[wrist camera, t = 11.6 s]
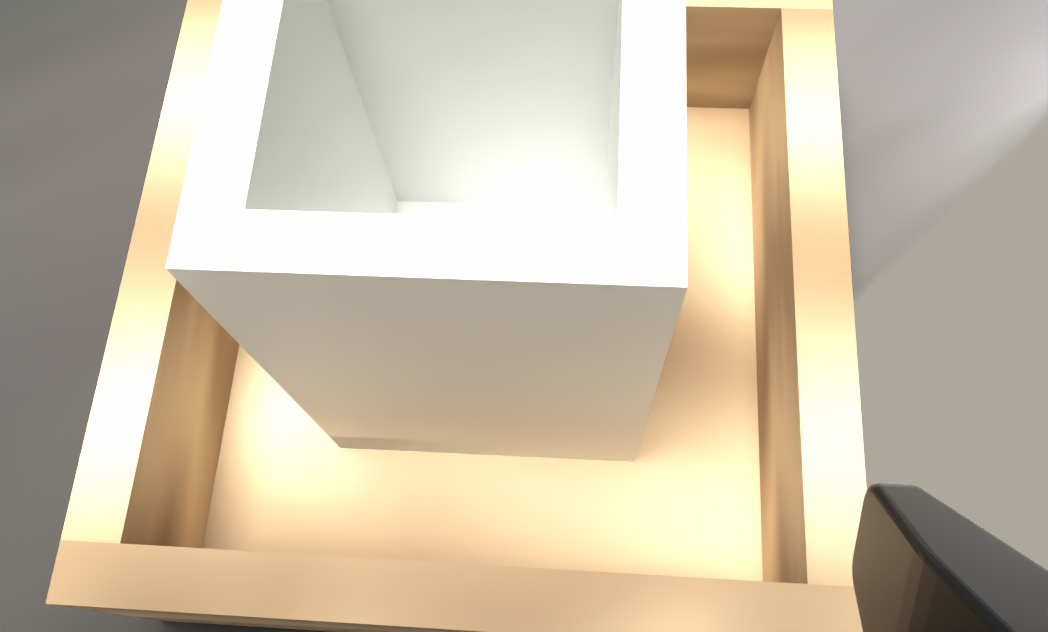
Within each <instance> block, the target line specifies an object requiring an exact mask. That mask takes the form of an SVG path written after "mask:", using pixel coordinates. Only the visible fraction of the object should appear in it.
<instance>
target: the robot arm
mask: <svg viewBox="0 0 1048 632" xmlns="http://www.w3.org/2000/svg"><path fill="white" fill-rule="evenodd" d="M852 578H853V585H854V590H855V595H856V600H857V605H858V610H859V615H860V620H861V625H862V629H863V632H1048V570H1046V569H1045V568H1043V567H1042V566H1040V565H1038V564H1037V563H1035V562H1034V561H1032V560H1030V559H1029V558H1028V557H1026V556H1024V555H1023V554H1021V553H1020V552H1018V551H1017V550H1015V549H1014V548H1012V547H1011V546H1009V545H1007V544H1006V543H1004V542H1003V541H1001V540H1000V539H998V538H997V537H995V536H994V535H992V534H990V533H989V532H987V531H986V530H984V529H983V528H981V527H980V526H978V525H976V524H975V523H973V522H972V521H970V520H969V519H967V518H965V517H964V516H963V515H961V514H959V513H958V512H956V511H955V510H953V509H952V508H950V507H948V506H947V505H946V504H944V503H942V502H941V501H939V500H938V499H936V498H935V497H933V496H932V495H930V494H929V493H927V492H925V491H924V490H922V489H921V488H919V487H917V486H913V485H900V484H880V483H879V484H873V485H871V486H870V487H869V488H868V490H867V491H866V494H865V496H864V500H863V505H862V511H861V516H860V521H859V526H858V532H857V537H856V542H855V548H854V553H853V559H852Z"/></svg>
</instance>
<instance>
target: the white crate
mask: <svg viewBox="0 0 1048 632" xmlns="http://www.w3.org/2000/svg"><path fill="white" fill-rule="evenodd" d="M165 269H166V270H167V271H168V272H169V273H170V274H171V275H172V276H173V277H174V278H175V279H176V280H177V281H178V282H179V283H180V284H181V285H182V286H183V287H184V288H185V289H186V290H187V291H188V292H189V293H190V294H191V295H192V296H193V297H194V298H195V299H196V300H197V301H198V302H199V303H200V304H201V305H202V306H203V308H204V309H205V310H206V311H207V312H208V313H209V314H210V315H211V316H212V317H213V318H214V319H215V320H216V321H217V322H218V323H219V324H220V325H221V326H222V327H223V328H224V329H225V330H226V331H227V332H228V333H229V334H230V335H231V336H232V337H233V338H234V339H235V340H236V341H237V342H238V343H239V344H240V345H241V347H242V348H243V349H244V350H245V351H246V352H247V353H248V354H249V355H250V356H251V357H252V358H253V359H254V360H255V361H256V362H257V363H258V364H259V365H260V366H261V367H262V368H263V369H264V370H265V371H266V372H267V373H268V374H269V375H270V376H271V377H272V378H273V379H274V380H275V381H276V382H277V383H278V385H279V386H280V387H281V388H282V389H283V390H284V391H285V392H286V393H287V394H288V395H289V396H290V397H291V398H292V399H293V400H294V401H295V402H296V403H297V404H298V405H299V406H300V407H301V408H302V409H303V410H304V411H305V412H306V413H307V414H308V415H309V416H310V417H311V418H312V419H313V420H314V421H315V422H316V424H317V425H318V426H319V427H320V428H321V429H322V430H323V431H324V432H325V433H326V434H327V435H328V436H329V437H330V438H331V439H332V440H333V441H334V442H335V443H336V444H337V445H338V446H339V447H340V448H353V449H374V450H395V451H416V452H437V453H458V454H479V455H500V456H521V457H542V458H563V459H584V460H605V461H626V462H634V459H635V456H636V452H637V449H638V446H639V443H640V439H641V436H642V433H643V430H644V426H645V423H646V420H647V417H648V413H649V410H650V407H651V404H652V400H653V397H654V394H655V391H656V387H657V384H658V381H659V378H660V375H661V371H662V368H663V365H664V362H665V358H666V355H667V352H668V349H669V345H670V342H671V339H672V336H673V332H674V329H675V326H676V323H677V319H678V316H679V313H680V310H681V306H682V303H683V300H684V297H685V293H686V290H687V134H686V0H223V2H222V7H221V11H220V16H219V21H218V25H217V30H216V35H215V39H214V44H213V49H212V53H211V58H210V63H209V67H208V72H207V77H206V81H205V86H204V91H203V95H202V100H201V105H200V109H199V114H198V119H197V123H196V128H195V133H194V137H193V142H192V147H191V151H190V156H189V161H188V165H187V170H186V175H185V179H184V184H183V189H182V193H181V198H180V203H179V207H178V212H177V217H176V221H175V226H174V231H173V235H172V240H171V245H170V249H169V254H168V259H167V263H166V268H165Z"/></svg>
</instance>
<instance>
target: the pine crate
mask: <svg viewBox="0 0 1048 632" xmlns="http://www.w3.org/2000/svg"><path fill="white" fill-rule="evenodd" d="M222 2H223V0H188V2H187V6H186V10H185V14H184V19H183V23H182V27H181V31H180V36H179V40H178V44H177V48H176V52H175V57H174V61H173V65H172V69H171V74H170V78H169V82H168V86H167V91H166V95H165V99H164V103H163V108H162V112H161V116H160V120H159V125H158V129H157V133H156V137H155V142H154V146H153V150H152V154H151V159H150V163H149V167H148V171H147V175H146V180H145V184H144V188H143V192H142V197H141V201H140V205H139V209H138V214H137V218H136V222H135V226H134V231H133V235H132V239H131V243H130V248H129V252H128V256H127V260H126V265H125V269H124V273H123V277H122V282H121V286H120V290H119V294H118V299H117V303H116V307H115V311H114V315H113V320H112V324H111V328H110V332H109V337H108V341H107V345H106V349H105V354H104V358H103V362H102V366H101V371H100V375H99V379H98V383H97V388H96V392H95V396H94V400H93V405H92V409H91V413H90V417H89V422H88V426H87V430H86V434H85V438H84V443H83V447H82V451H81V455H80V460H79V464H78V468H77V472H76V477H75V481H74V485H73V489H72V494H71V498H70V502H69V506H68V511H67V515H66V519H65V523H64V528H63V532H62V536H61V540H60V545H59V549H58V553H57V557H56V561H55V566H54V570H53V574H52V578H51V583H50V587H49V591H48V595H47V600H46V604H50V605H57V606H64V607H71V608H78V609H85V610H92V611H98V612H105V613H112V614H119V615H126V616H133V617H139V618H146V619H153V620H160V621H176V622H191V623H207V624H222V625H238V626H254V627H269V628H285V629H301V630H316V631H332V632H863V629H862V625H861V620H860V615H859V610H858V605H857V600H856V595H855V590H854V585H853V578H852V559H853V553H854V548H855V542H856V537H857V532H858V526H859V521H860V516H861V511H862V505H863V500H864V496H865V494H866V491H867V490H866V476H865V463H864V462H865V461H864V447H863V433H862V419H861V404H860V390H859V377H858V362H857V348H856V333H855V319H854V305H853V290H852V276H851V262H850V248H849V233H848V219H847V205H846V190H845V176H844V162H843V148H842V133H841V119H840V105H839V91H838V76H837V62H836V48H835V34H834V19H833V5H832V0H686V134H687V290H686V293H685V297H684V300H683V303H682V306H681V310H680V313H679V316H678V319H677V323H676V326H675V329H674V332H673V336H672V339H671V342H670V345H669V349H668V352H667V355H666V358H665V362H664V365H663V368H662V371H661V375H660V378H659V381H658V384H657V387H656V391H655V394H654V397H653V400H652V404H651V407H650V410H649V413H648V417H647V420H646V423H645V426H644V430H643V433H642V436H641V439H640V443H639V446H638V449H637V452H636V456H635V459H634V462H626V461H605V460H584V459H563V458H542V457H521V456H500V455H479V454H458V453H437V452H416V451H395V450H374V449H353V448H340V447H339V446H338V445H337V444H336V443H335V442H334V441H333V440H332V439H331V438H330V437H329V436H328V435H327V434H326V433H325V432H324V431H323V430H322V429H321V428H320V427H319V426H318V425H317V424H316V422H315V421H314V420H313V419H312V418H311V417H310V416H309V415H308V414H307V413H306V412H305V411H304V410H303V409H302V408H301V407H300V406H299V405H298V404H297V403H296V402H295V401H294V400H293V399H292V398H291V397H290V396H289V395H288V394H287V393H286V392H285V391H284V390H283V389H282V388H281V387H280V386H279V385H278V383H277V382H276V381H275V380H274V379H273V378H272V377H271V376H270V375H269V374H268V373H267V372H266V371H265V370H264V369H263V368H262V367H261V366H260V365H259V364H258V363H257V362H256V361H255V360H254V359H253V358H252V357H251V356H250V355H249V354H248V353H247V352H246V351H245V350H244V349H243V348H242V347H241V345H240V344H239V343H238V342H237V341H236V340H235V339H234V338H233V337H232V336H231V335H230V334H229V333H228V332H227V331H226V330H225V329H224V328H223V327H222V326H221V325H220V324H219V323H218V322H217V321H216V320H215V319H214V318H213V317H212V316H211V315H210V314H209V313H208V312H207V311H206V310H205V309H204V308H203V306H202V305H201V304H200V303H199V302H198V301H197V300H196V299H195V298H194V297H193V296H192V295H191V294H190V293H189V292H188V291H187V290H186V289H185V288H184V287H183V286H182V285H181V284H180V283H179V282H178V281H177V280H176V279H175V278H174V277H173V276H172V275H171V274H170V273H169V272H168V271H167V270H166V269H165V268H166V263H167V259H168V254H169V249H170V245H171V240H172V235H173V231H174V226H175V221H176V217H177V212H178V207H179V203H180V198H181V193H182V189H183V184H184V179H185V175H186V170H187V165H188V161H189V156H190V151H191V147H192V142H193V137H194V133H195V128H196V123H197V119H198V114H199V109H200V105H201V100H202V95H203V91H204V86H205V81H206V77H207V72H208V67H209V63H210V58H211V53H212V49H213V44H214V39H215V35H216V30H217V25H218V21H219V16H220V11H221V7H222Z"/></svg>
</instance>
